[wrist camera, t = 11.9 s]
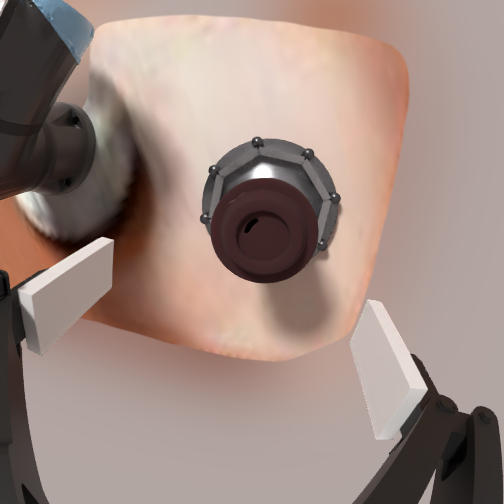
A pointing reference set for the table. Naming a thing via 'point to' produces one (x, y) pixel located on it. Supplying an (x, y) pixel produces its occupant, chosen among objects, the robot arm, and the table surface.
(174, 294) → the table surface
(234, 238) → the coffee cup
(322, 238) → the grey flat octagonal tray
